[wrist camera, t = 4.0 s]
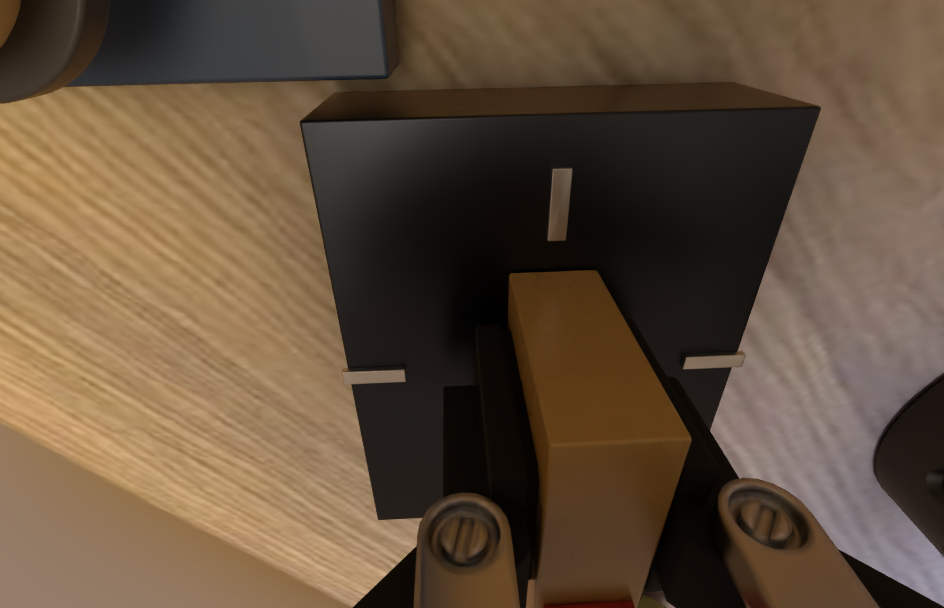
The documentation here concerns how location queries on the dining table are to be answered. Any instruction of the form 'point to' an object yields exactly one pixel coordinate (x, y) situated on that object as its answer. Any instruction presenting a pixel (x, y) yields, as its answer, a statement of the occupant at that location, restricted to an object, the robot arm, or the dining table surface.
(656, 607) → the pear
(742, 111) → the base
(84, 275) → the dining table surface
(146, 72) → the button base
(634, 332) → the robot arm
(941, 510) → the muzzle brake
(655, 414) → the orange brown rectangular block
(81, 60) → the lamp dome
